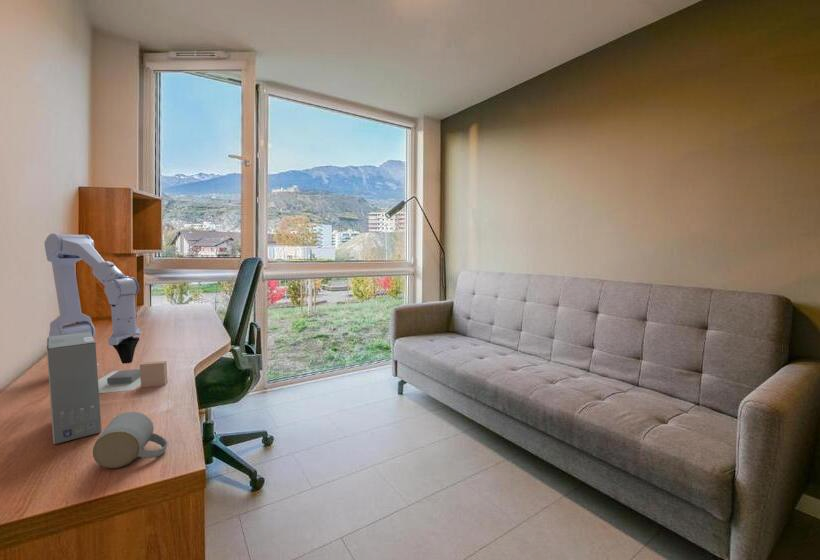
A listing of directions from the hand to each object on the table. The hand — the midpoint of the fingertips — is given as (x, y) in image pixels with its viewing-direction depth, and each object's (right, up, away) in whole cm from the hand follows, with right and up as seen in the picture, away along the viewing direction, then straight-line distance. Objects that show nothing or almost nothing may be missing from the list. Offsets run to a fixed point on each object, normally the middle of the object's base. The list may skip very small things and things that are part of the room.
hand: (127, 362), depth 111 cm
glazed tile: (-1, -4, +2) cm, 4 cm away
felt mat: (-1, -5, -1) cm, 5 cm away
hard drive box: (+11, -8, -29) cm, 32 cm away
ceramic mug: (+32, -9, -41) cm, 53 cm away
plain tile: (+12, -6, -5) cm, 14 cm away
